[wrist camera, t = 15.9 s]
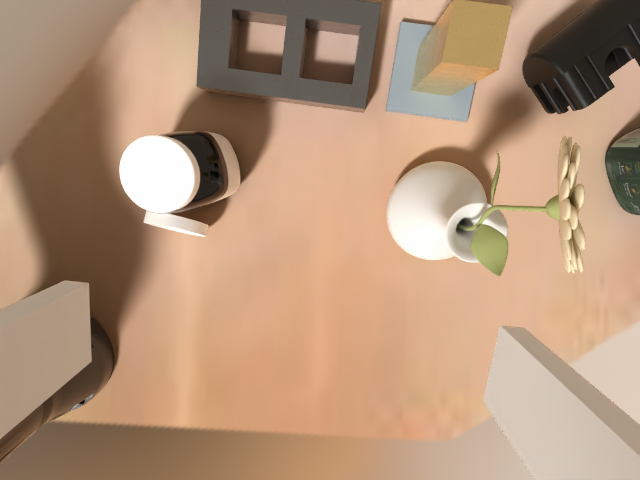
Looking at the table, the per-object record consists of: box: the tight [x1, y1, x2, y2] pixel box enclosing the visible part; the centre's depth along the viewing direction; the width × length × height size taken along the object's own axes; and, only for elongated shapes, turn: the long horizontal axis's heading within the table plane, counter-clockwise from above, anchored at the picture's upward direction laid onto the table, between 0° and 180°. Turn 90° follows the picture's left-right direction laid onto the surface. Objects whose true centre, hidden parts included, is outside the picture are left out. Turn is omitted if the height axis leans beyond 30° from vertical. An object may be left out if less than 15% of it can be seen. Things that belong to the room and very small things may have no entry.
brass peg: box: [411, 0, 513, 96], centre depth 33 cm, size 4×4×12 cm
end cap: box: [522, 0, 640, 114], centre depth 36 cm, size 10×7×7 cm
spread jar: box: [119, 131, 240, 237], centre depth 38 cm, size 12×11×12 cm
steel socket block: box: [197, 0, 381, 113], centre depth 39 cm, size 18×10×3 cm, turn 82°
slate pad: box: [386, 21, 475, 122], centre depth 39 cm, size 9×9×1 cm
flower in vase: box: [386, 136, 585, 276], centre depth 31 cm, size 13×11×25 cm
